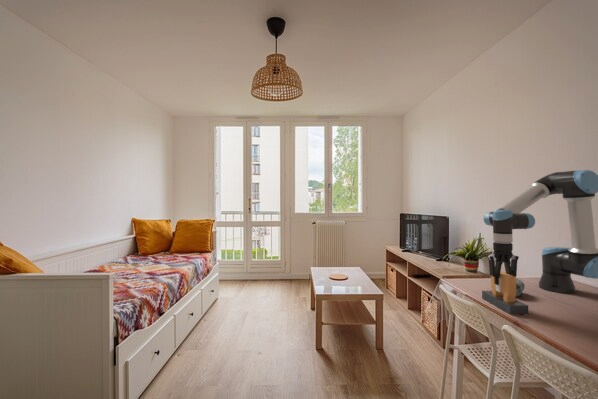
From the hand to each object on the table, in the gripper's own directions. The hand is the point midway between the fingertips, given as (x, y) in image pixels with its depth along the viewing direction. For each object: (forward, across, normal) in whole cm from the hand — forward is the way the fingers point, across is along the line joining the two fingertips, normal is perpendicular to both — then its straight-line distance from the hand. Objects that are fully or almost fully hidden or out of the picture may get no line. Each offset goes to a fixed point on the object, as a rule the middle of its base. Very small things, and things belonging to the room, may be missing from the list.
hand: (503, 291), depth 135 cm
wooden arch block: (+4, 0, 0) cm, 4 cm away
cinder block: (+7, 0, 0) cm, 7 cm away
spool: (+7, -16, -16) cm, 24 cm away
